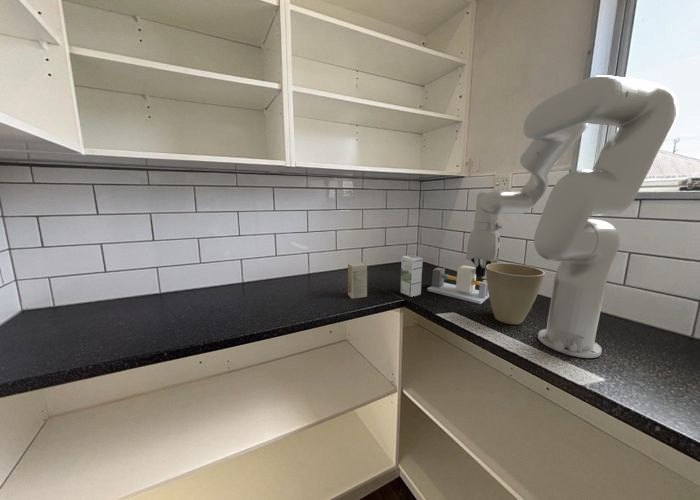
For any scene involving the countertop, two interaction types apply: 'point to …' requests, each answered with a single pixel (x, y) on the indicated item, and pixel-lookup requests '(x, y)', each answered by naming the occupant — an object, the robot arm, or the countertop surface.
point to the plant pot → (512, 290)
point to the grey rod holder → (451, 291)
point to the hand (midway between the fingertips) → (479, 277)
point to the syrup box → (411, 275)
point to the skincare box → (357, 280)
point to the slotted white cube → (465, 279)
